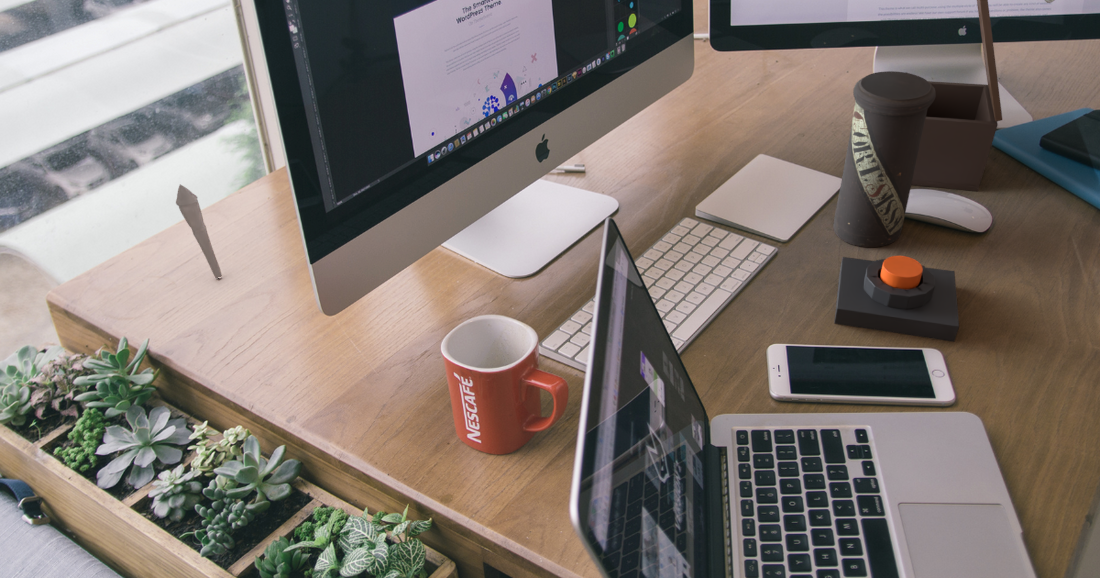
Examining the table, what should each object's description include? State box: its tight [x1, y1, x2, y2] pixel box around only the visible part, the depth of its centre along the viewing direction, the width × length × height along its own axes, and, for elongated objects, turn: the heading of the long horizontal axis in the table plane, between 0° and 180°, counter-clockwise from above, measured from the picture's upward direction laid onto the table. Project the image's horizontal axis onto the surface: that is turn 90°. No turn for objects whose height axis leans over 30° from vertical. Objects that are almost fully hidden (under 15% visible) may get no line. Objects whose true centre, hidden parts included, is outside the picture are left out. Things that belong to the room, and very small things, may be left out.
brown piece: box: [976, 0, 1003, 122], centre depth 98 cm, size 16×13×1 cm
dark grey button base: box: [833, 256, 960, 343], centre depth 86 cm, size 12×10×4 cm
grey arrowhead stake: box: [175, 184, 223, 279], centre depth 97 cm, size 2×3×14 cm
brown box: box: [911, 80, 999, 192], centre depth 108 cm, size 16×13×10 cm
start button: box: [880, 255, 923, 290], centre depth 84 cm, size 4×4×2 cm
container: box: [832, 70, 936, 248], centre depth 93 cm, size 9×9×20 cm
